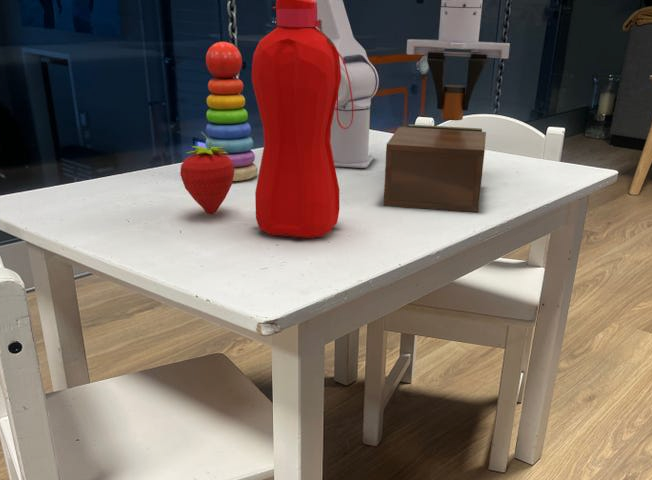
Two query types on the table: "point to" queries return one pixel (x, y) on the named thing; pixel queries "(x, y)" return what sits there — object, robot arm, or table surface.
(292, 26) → the water bottle
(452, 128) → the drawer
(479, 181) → the cabinet
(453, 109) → the spice bottle
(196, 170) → the strawberry
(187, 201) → the table surface
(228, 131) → the stacking toy
